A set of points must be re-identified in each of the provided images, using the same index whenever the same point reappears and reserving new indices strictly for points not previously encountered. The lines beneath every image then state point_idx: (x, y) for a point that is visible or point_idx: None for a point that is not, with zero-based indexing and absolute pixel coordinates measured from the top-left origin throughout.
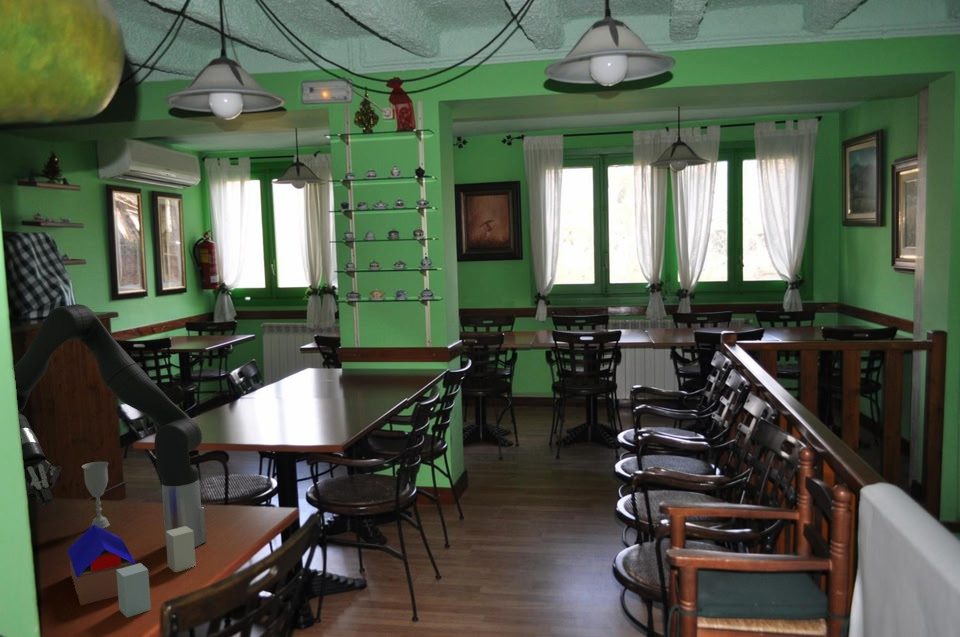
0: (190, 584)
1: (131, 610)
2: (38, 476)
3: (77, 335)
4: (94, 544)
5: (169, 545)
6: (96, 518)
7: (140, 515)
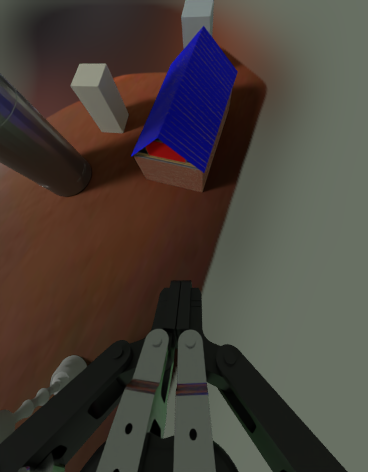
0: (138, 81)
1: None
2: (156, 450)
3: None
4: (196, 76)
5: (111, 96)
6: (64, 384)
7: (8, 360)
